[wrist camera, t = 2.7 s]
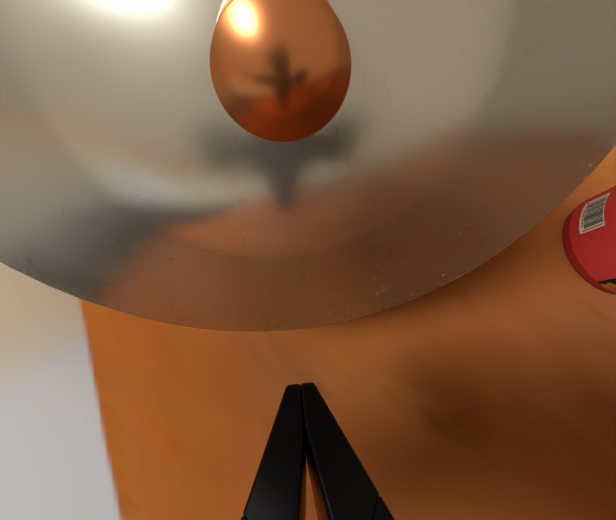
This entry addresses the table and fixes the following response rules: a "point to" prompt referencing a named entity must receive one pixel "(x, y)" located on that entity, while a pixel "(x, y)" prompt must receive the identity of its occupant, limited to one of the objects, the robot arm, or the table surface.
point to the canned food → (594, 240)
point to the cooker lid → (289, 147)
